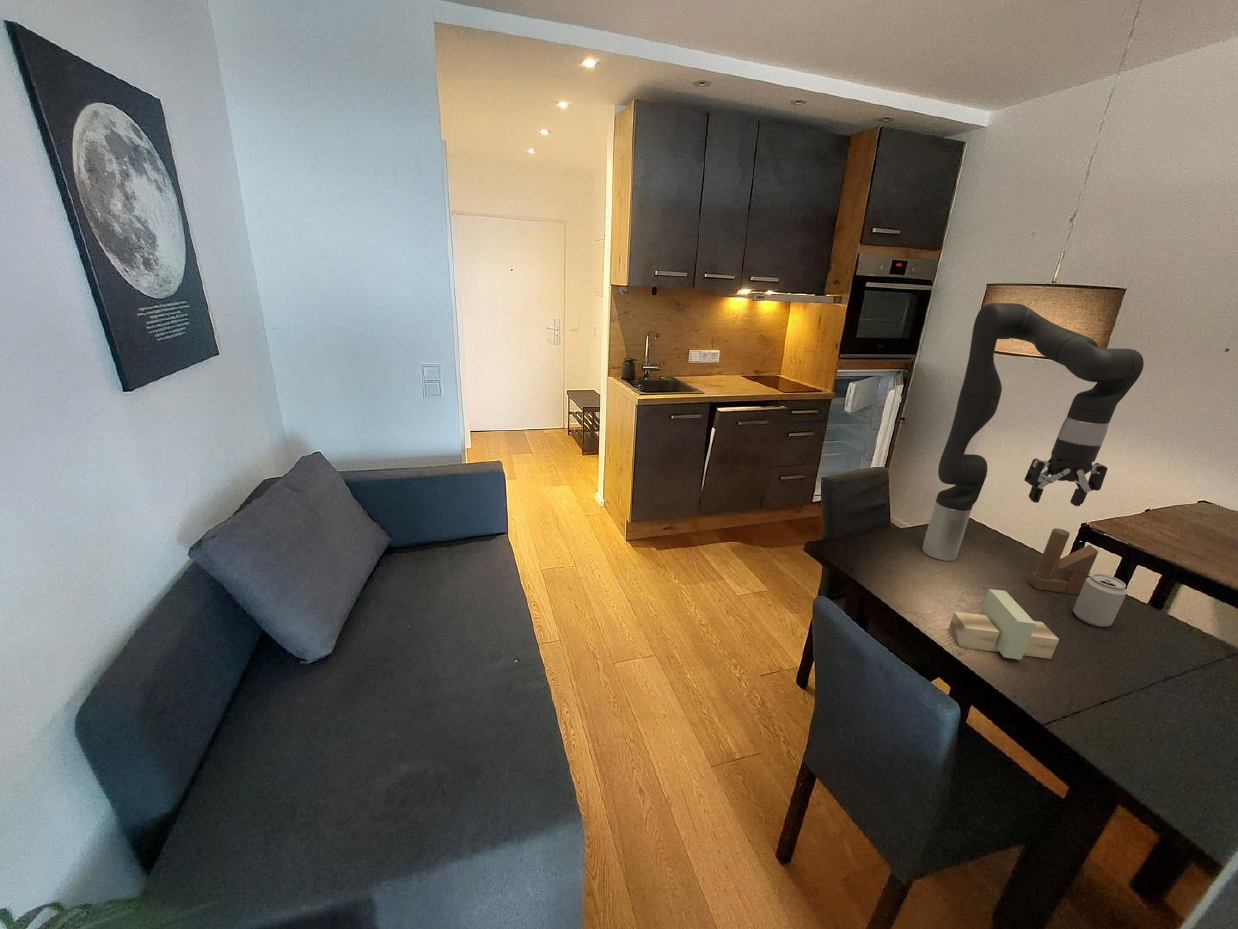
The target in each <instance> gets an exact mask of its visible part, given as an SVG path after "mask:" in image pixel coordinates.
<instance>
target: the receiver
mask: <svg viewBox="0 0 1238 929" xmlns="http://www.w3.org/2000/svg"><path fill="white" fill-rule="evenodd" d="M1033 621H1034V622H1035V623H1036V625H1035V628H1034V630H1033V633H1032V635H1031V637H1030V640H1029V642H1028V645H1027V647H1026V650H1025V652H1024V655H1023V656H1025V657H1026V656H1028V657H1035V658H1041V659H1042V658H1043V659H1052V657H1053V655H1054V652H1055V650H1056V648H1057V646H1058V643H1059V641H1060V638H1058V637H1057V635H1056V634H1055V633H1053V632H1052V631H1051V629H1050V628H1049V627H1047V625H1046V624H1045V623H1044V622H1042V621H1036V620H1033ZM947 631H948V632H949V633H950V635H951V636H952V638H953V639H954V641H955V642H956V644H957V645H958V647H959V648H965V649H971V650H981V651H986V652H987V651H988V652H995V653H996V652H997V653H1000V651H999V650H998V649H997V647H996V646H995V644H996V641H997V638H998V636H999V633H1000V632H999V631H998V629H997V628H996V627H995V626H994V625H993V623H992V622H991V621H990V620H989V618H988V617H987V616H986V615H980V614H978V613H977V614H975V613H968V612H959V611H953V614H952V617H951V619H950V624H949V626H948V630H947Z"/></svg>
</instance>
